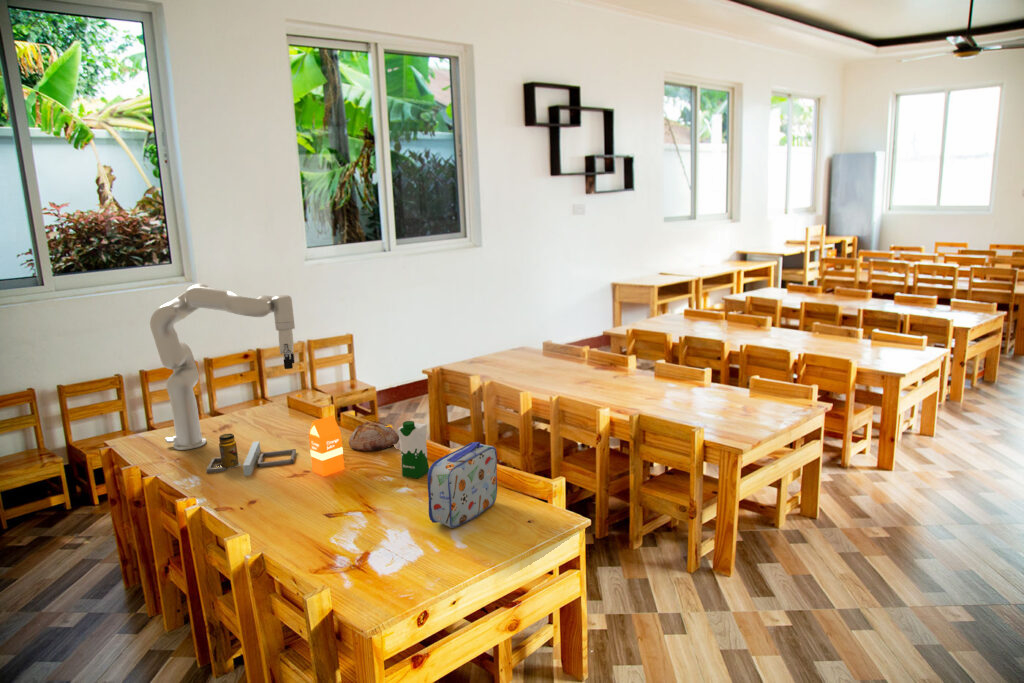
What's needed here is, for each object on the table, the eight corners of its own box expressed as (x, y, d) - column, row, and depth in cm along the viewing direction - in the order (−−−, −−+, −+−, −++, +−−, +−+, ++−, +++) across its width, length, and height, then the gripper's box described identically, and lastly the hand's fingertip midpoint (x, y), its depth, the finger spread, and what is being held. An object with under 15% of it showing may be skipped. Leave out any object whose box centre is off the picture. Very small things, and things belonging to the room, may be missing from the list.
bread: (346, 445, 291) (344, 421, 289) (394, 437, 298) (392, 413, 296) (353, 456, 276) (350, 431, 274) (403, 447, 283) (400, 422, 281)
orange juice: (344, 468, 263) (339, 417, 259) (324, 476, 257) (318, 423, 253) (332, 464, 268) (327, 413, 264) (312, 471, 262) (306, 419, 258)
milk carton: (398, 477, 253) (394, 423, 249) (412, 467, 261) (408, 415, 257) (419, 480, 249) (415, 426, 245) (433, 470, 257) (429, 418, 253)
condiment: (241, 465, 271) (237, 435, 268) (218, 471, 266) (214, 441, 264) (237, 460, 277) (233, 430, 274) (214, 465, 272) (210, 435, 270)
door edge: (244, 476, 261) (242, 465, 260) (254, 451, 286) (253, 441, 285) (251, 475, 261) (249, 464, 260) (260, 450, 286) (259, 441, 285)
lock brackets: (206, 473, 265) (206, 469, 264) (213, 461, 276) (212, 458, 276) (293, 463, 271) (292, 459, 270) (296, 452, 282) (295, 448, 282)
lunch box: (477, 494, 236) (474, 431, 231) (504, 500, 230) (501, 435, 226) (425, 529, 213) (420, 460, 209) (453, 536, 208) (448, 465, 203)
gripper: (277, 322, 300) (282, 362, 304) (273, 330, 284) (278, 371, 287) (296, 321, 302) (300, 360, 305) (292, 328, 285) (297, 370, 289)
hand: (289, 365), depth 296 cm, fingers open, 9 cm apart
